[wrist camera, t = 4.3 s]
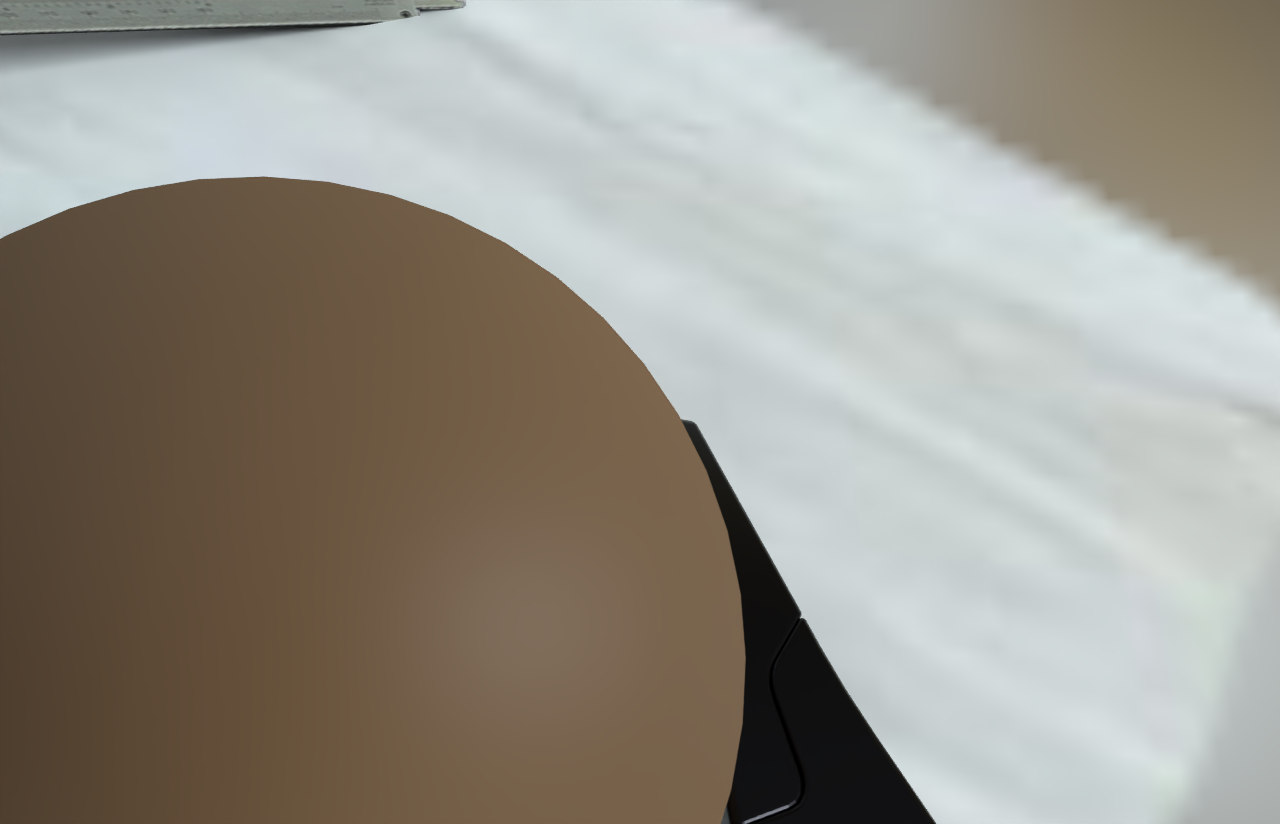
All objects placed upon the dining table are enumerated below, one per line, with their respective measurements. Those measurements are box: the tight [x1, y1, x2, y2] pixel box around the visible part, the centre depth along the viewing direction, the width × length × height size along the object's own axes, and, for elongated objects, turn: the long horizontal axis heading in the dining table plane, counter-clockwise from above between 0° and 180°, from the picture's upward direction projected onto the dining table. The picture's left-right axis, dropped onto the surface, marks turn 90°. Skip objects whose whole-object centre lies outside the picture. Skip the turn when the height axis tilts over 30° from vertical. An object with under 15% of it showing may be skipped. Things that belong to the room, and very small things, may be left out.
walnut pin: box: [0, 177, 746, 824], centre depth 9 cm, size 4×4×13 cm
